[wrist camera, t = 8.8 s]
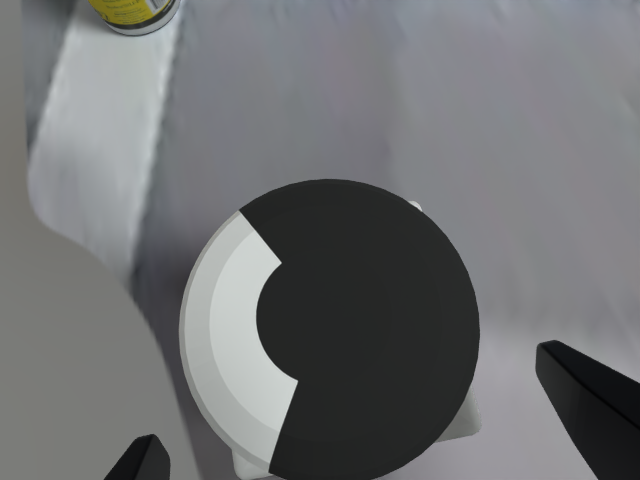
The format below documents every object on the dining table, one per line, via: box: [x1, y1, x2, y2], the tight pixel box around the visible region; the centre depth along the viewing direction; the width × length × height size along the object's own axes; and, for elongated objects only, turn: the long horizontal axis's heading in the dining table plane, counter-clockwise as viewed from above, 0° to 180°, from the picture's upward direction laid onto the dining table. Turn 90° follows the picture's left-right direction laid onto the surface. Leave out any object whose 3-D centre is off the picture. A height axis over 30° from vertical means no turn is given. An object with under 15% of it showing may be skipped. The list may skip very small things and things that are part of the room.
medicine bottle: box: [179, 179, 481, 480], centre depth 13 cm, size 7×7×12 cm
